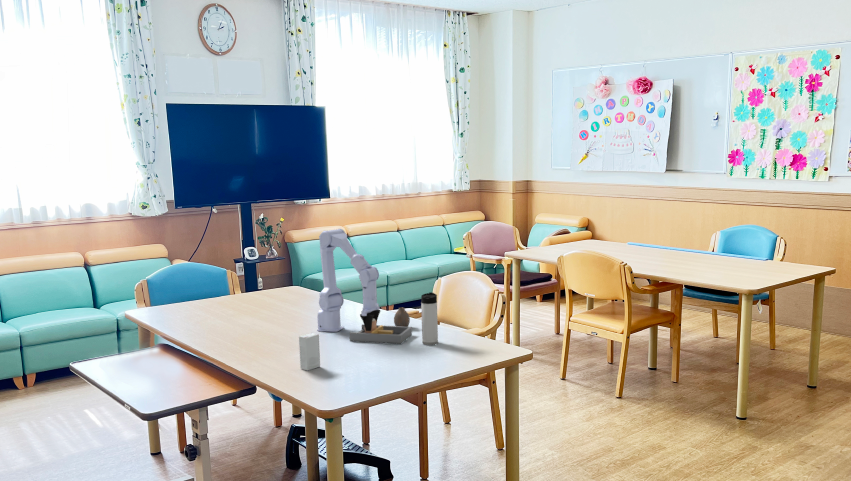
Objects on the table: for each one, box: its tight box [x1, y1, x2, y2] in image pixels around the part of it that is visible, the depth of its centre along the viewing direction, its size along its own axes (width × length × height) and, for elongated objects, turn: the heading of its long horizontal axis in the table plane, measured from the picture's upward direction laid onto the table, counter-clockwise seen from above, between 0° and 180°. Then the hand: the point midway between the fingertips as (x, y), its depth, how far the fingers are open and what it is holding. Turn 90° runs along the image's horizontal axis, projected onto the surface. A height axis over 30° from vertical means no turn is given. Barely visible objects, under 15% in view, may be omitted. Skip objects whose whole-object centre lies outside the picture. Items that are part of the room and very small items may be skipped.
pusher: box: [371, 324, 393, 334], centre depth 282 cm, size 7×11×3 cm, turn 163°
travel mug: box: [420, 291, 439, 346], centre depth 272 cm, size 6×7×20 cm
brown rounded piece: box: [393, 307, 411, 327], centre depth 298 cm, size 7×7×9 cm
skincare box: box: [298, 332, 321, 371], centre depth 244 cm, size 6×4×12 cm
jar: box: [364, 318, 378, 333], centre depth 283 cm, size 5×5×6 cm
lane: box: [349, 323, 413, 345], centre depth 282 cm, size 22×14×4 cm, turn 73°
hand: (370, 329), depth 283 cm, fingers closed on jar, 5 cm apart
